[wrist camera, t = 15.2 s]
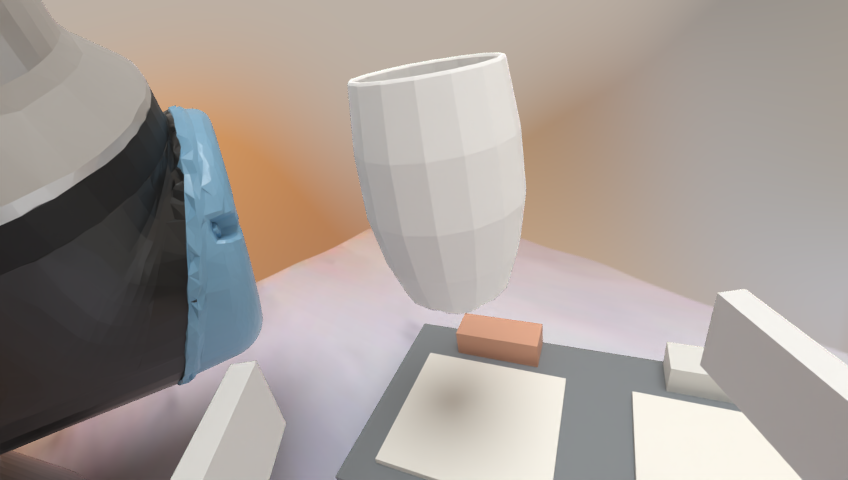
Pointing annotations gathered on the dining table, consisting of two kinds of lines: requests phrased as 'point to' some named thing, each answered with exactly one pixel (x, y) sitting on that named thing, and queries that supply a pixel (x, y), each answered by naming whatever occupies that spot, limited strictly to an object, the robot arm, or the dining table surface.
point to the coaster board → (553, 414)
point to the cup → (442, 175)
